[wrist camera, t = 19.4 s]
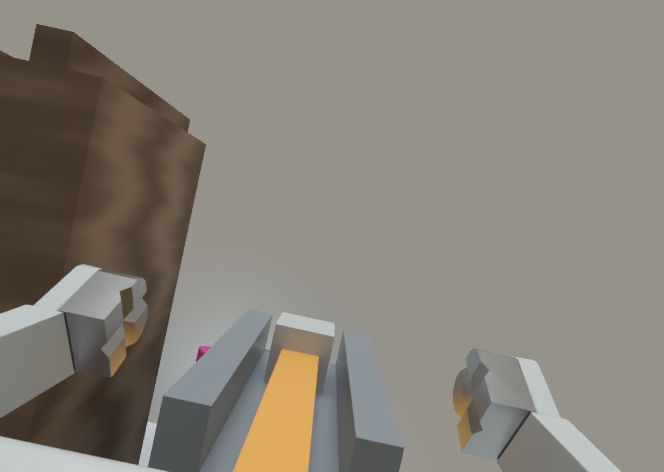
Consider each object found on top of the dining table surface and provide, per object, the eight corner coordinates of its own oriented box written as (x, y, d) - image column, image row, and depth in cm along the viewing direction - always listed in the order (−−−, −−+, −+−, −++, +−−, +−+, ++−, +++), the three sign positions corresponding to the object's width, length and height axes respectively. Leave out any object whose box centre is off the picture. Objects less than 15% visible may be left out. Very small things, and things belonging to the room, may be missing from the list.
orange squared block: (305, 684, 10) (340, 528, 10) (146, 651, 10) (180, 493, 10) (323, 374, 32) (334, 323, 32) (271, 363, 32) (282, 311, 32)
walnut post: (-44, 789, 18) (110, 40, 17) (-329, 729, 18) (-187, -26, 17) (122, 540, 32) (210, 124, 31) (-37, 506, 32) (48, 88, 31)
